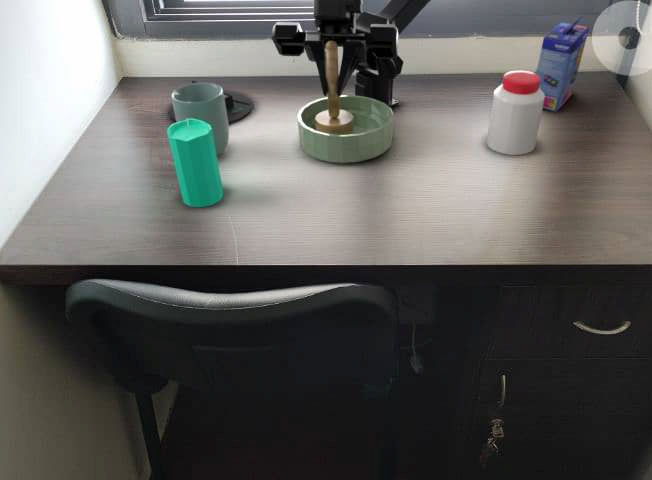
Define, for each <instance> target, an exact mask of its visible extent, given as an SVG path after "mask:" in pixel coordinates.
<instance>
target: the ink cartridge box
mask: <svg viewBox="0 0 652 480" xmlns="http://www.w3.org/2000/svg"><path fill="white" fill-rule="evenodd" d="M582 17H583V15H580V16H578V18H577V19H576V20H575V21H574V22H573V23H569V22H563V21H561V22H559V23H558V24H557V25H556V26H555V27H554V28H553V29H551V31H549V32H548V33H547V34H546V35H545V36H544V37H543V39H542V44H541V48H540V52H539V58H538V62H537V67H536V72H535V74H537V75H539V76H540V78H541V80H540V85H539V87H540V89H541V90H542V91H543V92H544V94H545V99H544V104H543V109H544V110H548V111H551V112H554V113H556V112H558V110H559V109H560V108H561V107H562V106H563V105H564V104H565V103H566V101H568V99H569V98H570V97H571V96H572V94H573V91H574V87H575V83H576V79H577V77H578V72H579V69H580V65H581V62H582V57H583V53H584V50H585V46H586V42H587V39H588V38H587V37H588V34H589V31H590V27H589V26H585V25H580V24H578V23H579V22H580V20H581V19H582ZM543 109H542V110H543Z"/></svg>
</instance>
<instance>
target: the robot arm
mask: <svg viewBox="0 0 652 480" xmlns="http://www.w3.org/2000/svg"><path fill="white" fill-rule="evenodd" d="M431 1H432V0H390V1H389V2H388V3H387V4H386V5H385V6H384V7H383V9H382V10H381V11H380V12H378V13H377V14H376V13H372V12H369V11H365V10H364V11H363V6H364V0H313V12H312V13H313V15H312V16H313V18H314V27H315V28H317V30H315V29H306V30H305V31H303V29H302V26H301V24H300V22H297V21H296V22H291V21H289V22H288V21H277V22H276V23H275V24H274V25H273V27H272V30H271V40H272V42H273V44H274V46H275V48H276V50H277V52H278V54H279V55H280V56H283V57H300V56H301V55H303V54H304V53H305V54H306V57H307V59H308V61H310V62H315V64H316V68H317V73H318V77H319V81H320V86H321V90H322V94H323V96H324V97H328V95H327V74H326V52H325V46H326V43H327V42H328V41H334V42H336V44H337V46H338V48H342V57H341V63H340V68H339V72H338V74H339V79H338V86H337V95H338V96H339V97H340V96H342V95H343V93H344V91H345V89H346V86H347V84H348V83H349V80H350V78H351V77H352V75H353V73H354V72H355V71H357V72H356V73H355V83H354V96H363V97H368V98H373V99H376V100H378V101H380V102H383V103H385V104H386V105H387V106H388V107H389V108H391V109H392V108H393V107H396V106H398V105H399V100H396V99H394V98H393V91H394V90H393V89H394V79H396V77H397V76H399V75H400V74H401V73H402V70H403V66H404V60H403V59H402V58H401V57H400V56H399V55H398V52H399V42H400V35H401V34H402V33H403V32H404V31H405V29H407V27H408V26H409V25H410V24H411V23H412V22H413V21H414V20H415V19H416V17H417V16H418V15H420V14H421V12H422V11H423V10H424V9H425V8H426V7H427V5H429V4H430V2H431ZM358 14H359V15H358Z"/></svg>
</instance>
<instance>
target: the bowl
mask: <svg viewBox="0 0 652 480" xmlns="http://www.w3.org/2000/svg"><path fill="white" fill-rule="evenodd" d="M339 105H340V110H345V111H348V112H350V113H351V114H352V115H353V134H350V135H336V134H327V133H323V132H319V131H316V122H315V117H316V115H317V114H319V113H320V112H323V111H326V110H328V96H325V97H321V98H318V99H315V100H313V101H311V102H308V103H307V104H305V105H303V107H301V108H300V109H299V111H298V113H297V114H296V115H297V127H298V128H297V129H298V140H299V141H298V142H299V147H300V148H301V149H302V150H303V152H304V153H305V154H307V155H309V156H311V157H312V158H314V159H317V160H321V161H325V162H329V163H339V164H341V163H342V164H346V163H359V162H363V161H366V160H371V159H374V158H376V157H378V156H381V155H382V154H384V153H386V152H387V151H388V150H389V149H390V148H391V146H392V143H393V137H394V136H393V135H394V134H393V133H394V113H393V110H392V107H391V108H389V107H388V106H387V105H386V104H385V103H383V102H380V101H378V100H376V99H373V98H368V97H363V96H355V95H353V94H352V95H351V94H350V95H349V94H345V95H344V94H341V96H340V97H339Z"/></svg>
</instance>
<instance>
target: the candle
mask: <svg viewBox="0 0 652 480" xmlns="http://www.w3.org/2000/svg"><path fill="white" fill-rule="evenodd" d="M186 119H187V118H186ZM166 133H167V139H168V143H169V146H170V152H171V155H172V159H173V164H174V169H175V172H176V177H177V181H178V185H179V189H180V193H181V198H182V201H183V204H185V205H187V206H188V207H194V208H205V207H209V206H210V207H211V206H213V205H215V204H217V203H218V202H220V201H221V200H222V198H223V197H224V195H225V194H224V190H223V183H222V178H221V173H220V167H219V161H218V156H217V155H216V150H215V144H214V139H213V133H212V128H211V126H210V125H209V124H207V123H206V122H204V121H201V120H197V119H192V118H191V119H187V120H183V121H180V122H174V123H172V124H170V126H169V127H168V128H167V129H166Z"/></svg>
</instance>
